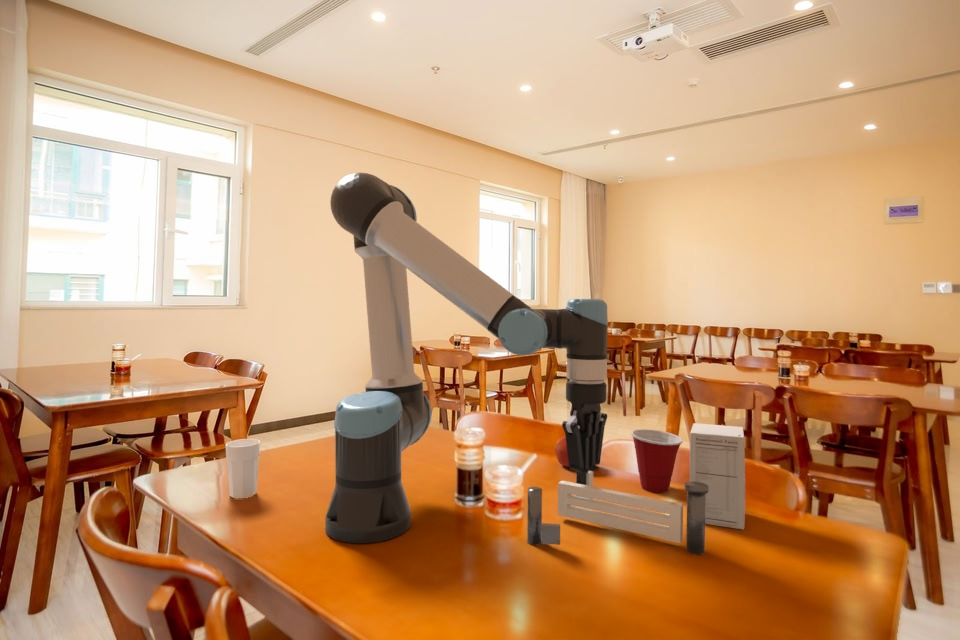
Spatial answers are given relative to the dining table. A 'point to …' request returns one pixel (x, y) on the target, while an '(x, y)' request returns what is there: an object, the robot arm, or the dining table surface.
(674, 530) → the gate
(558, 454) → the tomato
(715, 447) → the supplement box
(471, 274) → the robot arm
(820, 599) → the dining table surface
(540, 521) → the post
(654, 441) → the plastic cup
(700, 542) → the hinge post
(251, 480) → the cup
